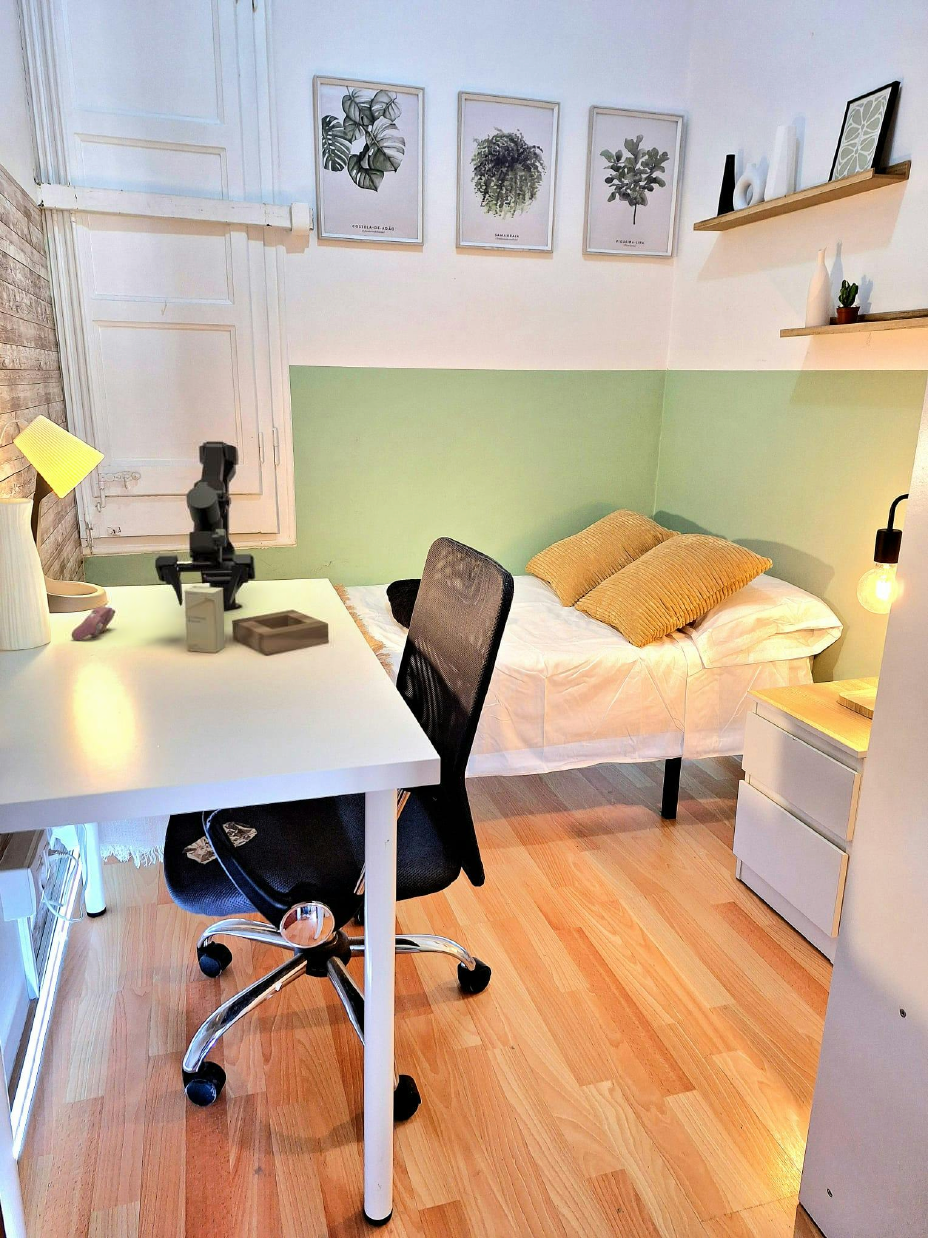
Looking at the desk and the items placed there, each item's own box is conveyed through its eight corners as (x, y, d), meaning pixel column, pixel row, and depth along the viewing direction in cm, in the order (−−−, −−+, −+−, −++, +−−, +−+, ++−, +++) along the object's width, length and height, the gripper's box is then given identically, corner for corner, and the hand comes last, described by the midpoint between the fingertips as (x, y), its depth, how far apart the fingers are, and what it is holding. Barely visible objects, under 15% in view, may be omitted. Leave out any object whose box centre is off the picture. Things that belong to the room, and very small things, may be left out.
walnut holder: (233, 639, 172) (231, 620, 171) (293, 627, 181) (292, 609, 180) (266, 655, 162) (265, 635, 160) (328, 642, 170) (328, 623, 169)
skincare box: (186, 651, 163) (182, 590, 160) (197, 644, 168) (193, 585, 164) (217, 653, 162) (213, 592, 159) (227, 646, 167) (223, 587, 163)
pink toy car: (89, 649, 169) (101, 619, 167) (68, 638, 168) (80, 608, 167) (110, 635, 178) (122, 606, 177) (90, 625, 178) (102, 597, 176)
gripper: (152, 515, 163) (147, 582, 155) (251, 514, 166) (250, 580, 159) (162, 548, 172) (157, 613, 165) (255, 546, 176) (255, 610, 168)
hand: (204, 603), depth 164 cm, fingers open, 9 cm apart
